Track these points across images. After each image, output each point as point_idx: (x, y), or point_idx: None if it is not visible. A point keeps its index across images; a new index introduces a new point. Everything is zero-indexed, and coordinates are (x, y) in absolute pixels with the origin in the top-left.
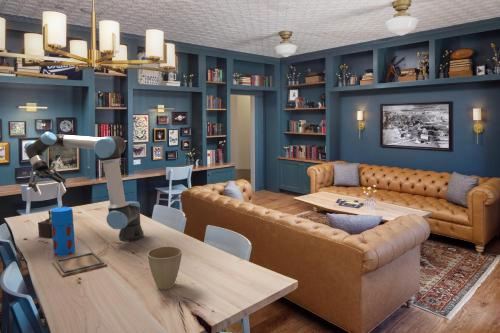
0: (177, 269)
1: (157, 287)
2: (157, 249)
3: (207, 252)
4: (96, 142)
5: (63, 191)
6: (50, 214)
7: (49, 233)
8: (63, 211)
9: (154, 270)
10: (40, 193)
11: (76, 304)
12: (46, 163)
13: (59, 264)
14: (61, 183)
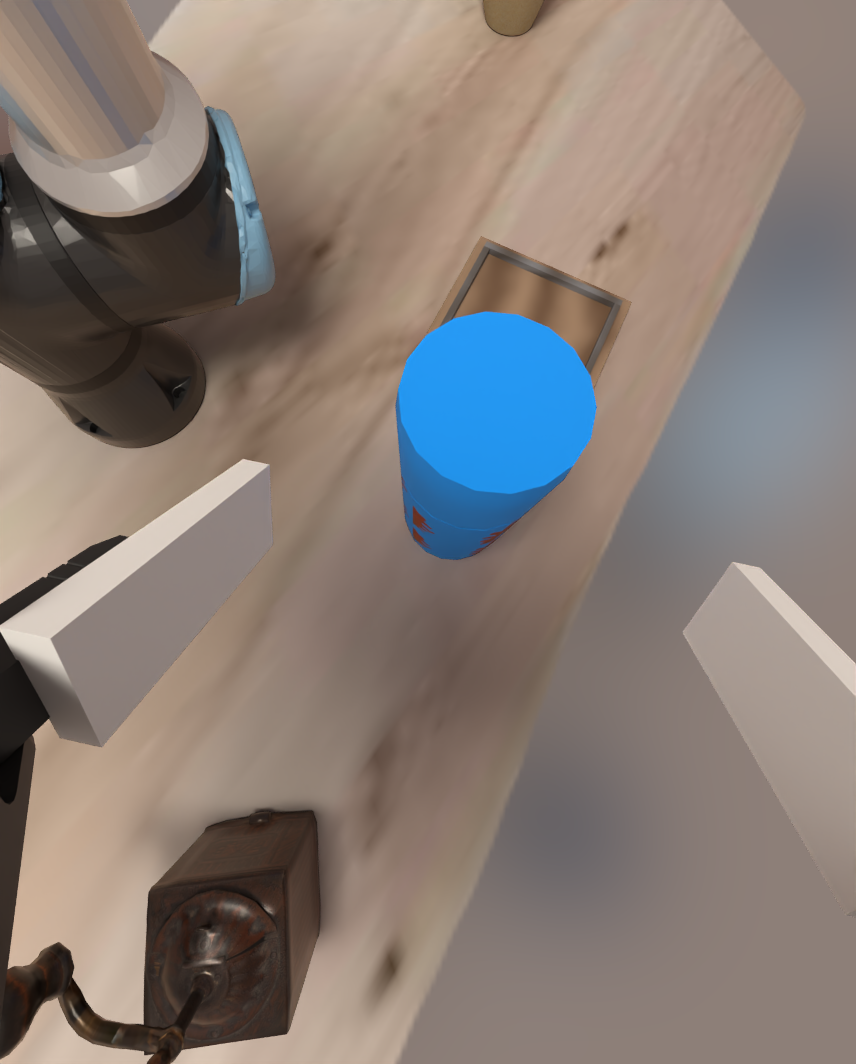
0: None
1: (529, 28)
2: None
3: (212, 29)
4: None
5: (257, 535)
6: (176, 1019)
7: (306, 839)
8: (538, 324)
9: None
10: (761, 578)
11: (713, 142)
12: None
13: (588, 372)
14: (117, 589)
